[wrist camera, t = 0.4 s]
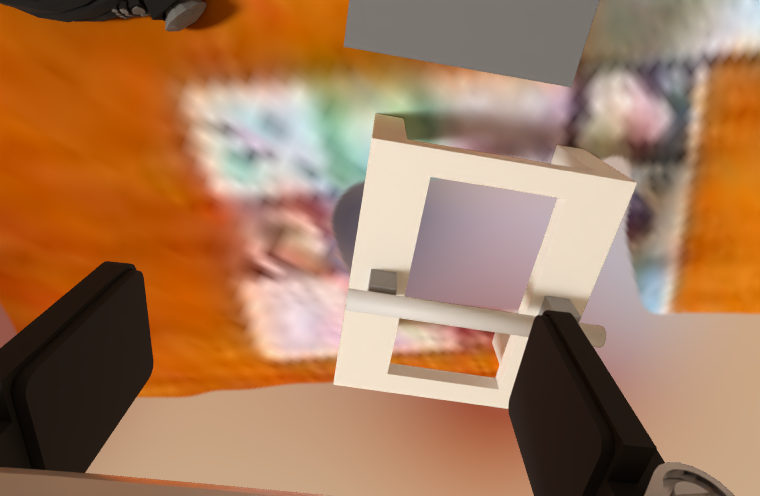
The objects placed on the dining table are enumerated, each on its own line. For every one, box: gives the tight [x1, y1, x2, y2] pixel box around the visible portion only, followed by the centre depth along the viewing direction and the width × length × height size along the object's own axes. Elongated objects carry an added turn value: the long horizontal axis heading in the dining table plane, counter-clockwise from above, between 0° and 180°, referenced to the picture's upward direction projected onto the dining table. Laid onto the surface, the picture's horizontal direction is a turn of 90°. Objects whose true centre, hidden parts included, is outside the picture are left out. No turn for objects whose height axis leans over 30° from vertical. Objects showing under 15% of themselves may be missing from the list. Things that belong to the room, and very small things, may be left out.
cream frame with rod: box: [334, 114, 637, 409], centre depth 40 cm, size 22×19×14 cm
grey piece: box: [344, 0, 599, 87], centre depth 33 cm, size 14×5×12 cm, turn 81°
